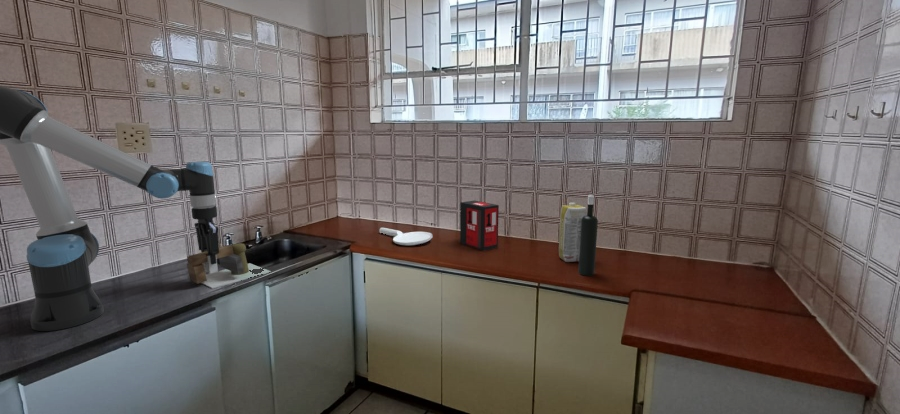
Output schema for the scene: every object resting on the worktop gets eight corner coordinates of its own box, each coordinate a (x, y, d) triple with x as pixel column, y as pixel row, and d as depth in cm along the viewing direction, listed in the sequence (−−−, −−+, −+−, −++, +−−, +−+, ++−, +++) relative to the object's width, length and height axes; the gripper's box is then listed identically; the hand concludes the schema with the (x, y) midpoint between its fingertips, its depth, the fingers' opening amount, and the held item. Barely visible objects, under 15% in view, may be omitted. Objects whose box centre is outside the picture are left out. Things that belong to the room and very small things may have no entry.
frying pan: (367, 240, 210) (366, 231, 209) (396, 231, 223) (395, 223, 222) (411, 250, 185) (410, 241, 184) (440, 240, 198) (440, 231, 197)
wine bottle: (579, 270, 158) (583, 193, 153) (594, 271, 156) (599, 194, 150) (577, 274, 153) (582, 195, 147) (593, 276, 151) (599, 196, 145)
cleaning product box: (460, 243, 196) (460, 202, 193) (474, 240, 202) (474, 200, 198) (483, 250, 184) (484, 207, 180) (497, 247, 189) (498, 205, 186)
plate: (212, 288, 139) (212, 287, 139) (192, 278, 148) (192, 277, 148) (270, 272, 155) (270, 271, 155) (249, 264, 165) (249, 263, 165)
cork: (241, 275, 151) (239, 246, 149) (227, 274, 152) (224, 245, 150) (252, 270, 156) (250, 242, 155) (238, 269, 158) (236, 241, 156)
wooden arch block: (202, 286, 137) (197, 261, 135) (185, 277, 145) (180, 253, 143) (243, 272, 148) (239, 248, 146) (225, 264, 156) (221, 242, 154)
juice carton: (577, 256, 176) (580, 201, 171) (585, 261, 168) (589, 204, 164) (556, 257, 174) (559, 202, 170) (564, 263, 166) (567, 205, 162)
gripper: (225, 207, 139) (232, 273, 144) (205, 202, 149) (212, 264, 153) (202, 210, 133) (209, 279, 138) (182, 205, 143) (190, 269, 147)
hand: (211, 271), depth 145 cm, fingers closed on wooden arch block, 3 cm apart
